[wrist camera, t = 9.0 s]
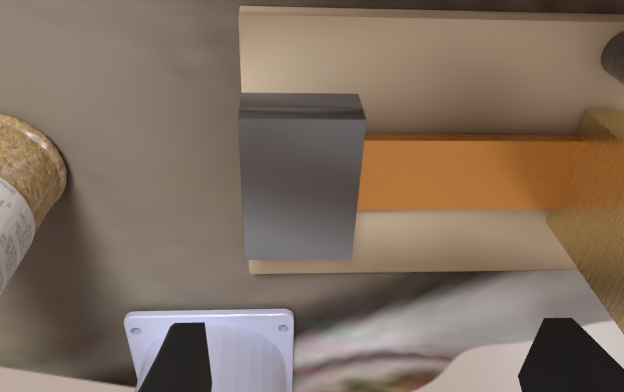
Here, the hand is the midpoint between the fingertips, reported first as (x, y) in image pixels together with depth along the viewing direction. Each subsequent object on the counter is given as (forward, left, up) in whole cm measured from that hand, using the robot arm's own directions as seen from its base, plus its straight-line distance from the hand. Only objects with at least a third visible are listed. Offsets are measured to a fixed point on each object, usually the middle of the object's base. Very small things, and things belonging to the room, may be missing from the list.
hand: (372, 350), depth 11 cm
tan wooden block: (-1, -5, -9) cm, 11 cm away
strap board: (-1, -7, -10) cm, 12 cm away
